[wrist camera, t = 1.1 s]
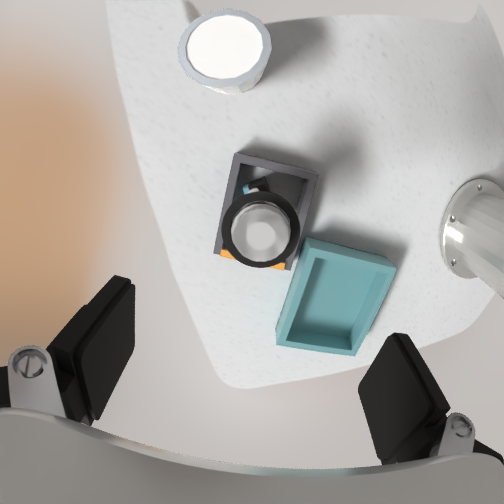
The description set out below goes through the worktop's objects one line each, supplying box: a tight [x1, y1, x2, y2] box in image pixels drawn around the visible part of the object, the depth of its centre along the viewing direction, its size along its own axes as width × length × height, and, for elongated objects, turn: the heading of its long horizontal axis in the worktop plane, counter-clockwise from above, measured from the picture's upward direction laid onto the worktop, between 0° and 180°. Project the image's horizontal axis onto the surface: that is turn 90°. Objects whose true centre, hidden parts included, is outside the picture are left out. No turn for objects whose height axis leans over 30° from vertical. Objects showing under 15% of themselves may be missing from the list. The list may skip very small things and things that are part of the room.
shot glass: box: [178, 9, 272, 95], centre depth 20 cm, size 7×7×7 cm
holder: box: [213, 153, 318, 270], centre depth 27 cm, size 8×10×2 cm
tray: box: [276, 237, 397, 356], centre depth 30 cm, size 10×12×3 cm
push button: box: [221, 177, 300, 268], centre depth 24 cm, size 7×5×10 cm
